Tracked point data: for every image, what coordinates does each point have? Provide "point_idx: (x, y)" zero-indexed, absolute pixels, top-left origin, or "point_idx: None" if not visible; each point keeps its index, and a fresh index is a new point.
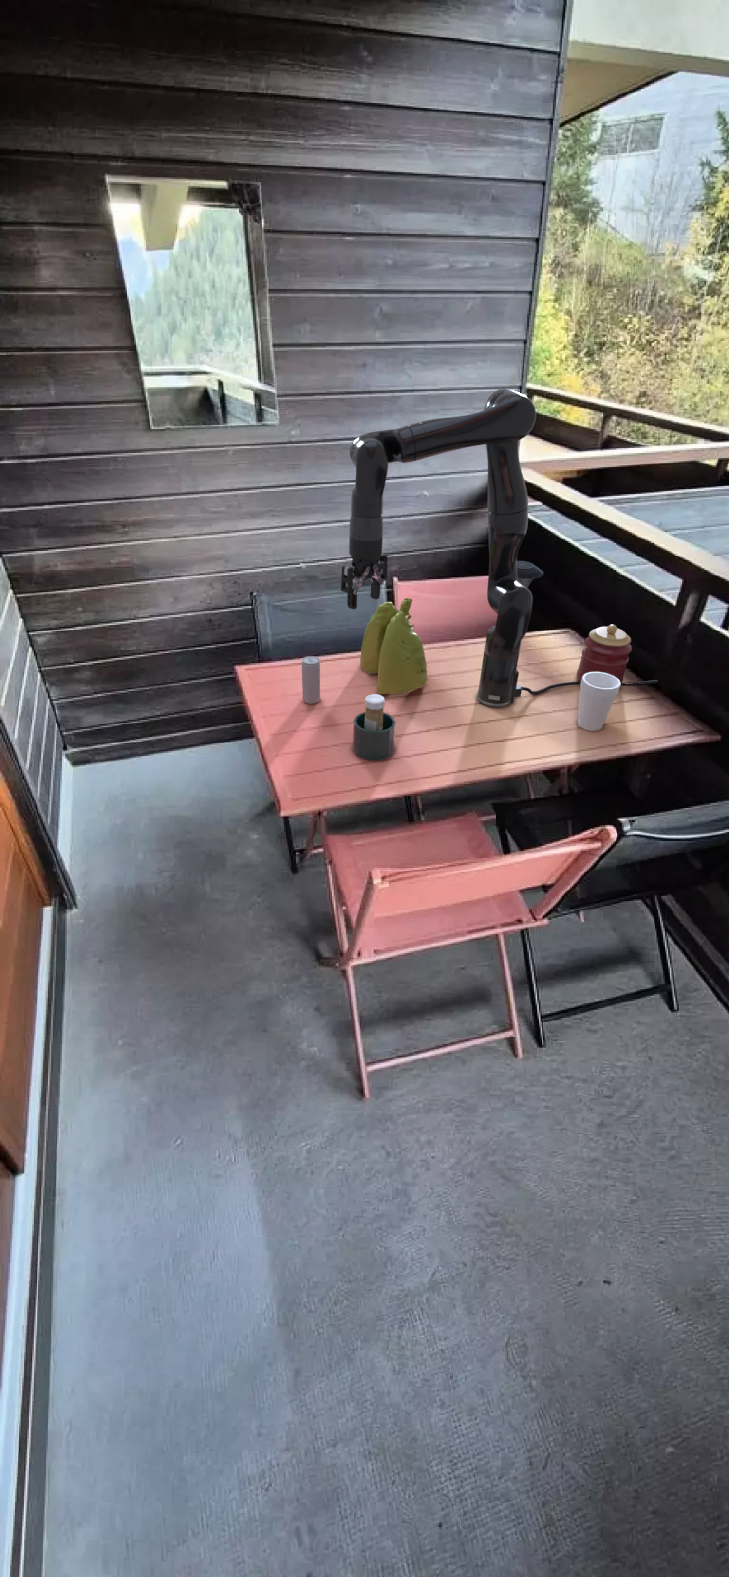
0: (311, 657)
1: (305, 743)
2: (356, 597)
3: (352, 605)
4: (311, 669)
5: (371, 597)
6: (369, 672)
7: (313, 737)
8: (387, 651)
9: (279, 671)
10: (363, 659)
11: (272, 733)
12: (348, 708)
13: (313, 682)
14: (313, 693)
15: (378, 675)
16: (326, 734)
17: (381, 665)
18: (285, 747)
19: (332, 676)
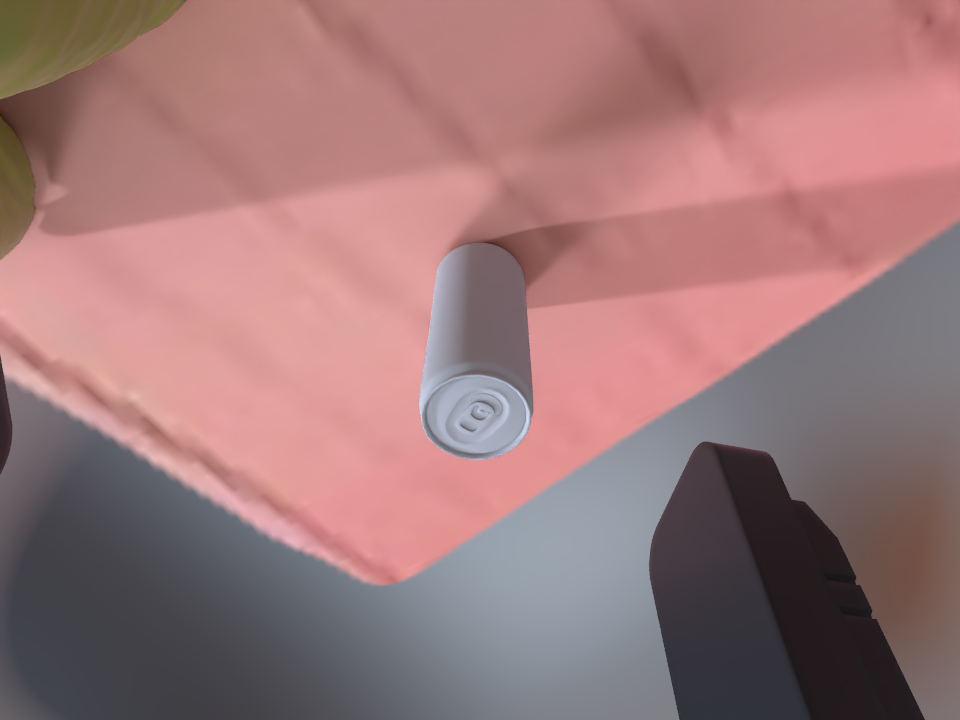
0: (441, 430)
1: (889, 93)
2: (806, 648)
3: (812, 536)
4: (523, 370)
5: (5, 442)
6: (28, 164)
7: (818, 86)
8: (25, 3)
9: (332, 498)
10: (10, 234)
11: (842, 274)
12: (449, 71)
13: (513, 315)
14: (513, 280)
15: (138, 31)
16: (766, 39)
17: (108, 24)
18: (952, 161)
19: (209, 307)
